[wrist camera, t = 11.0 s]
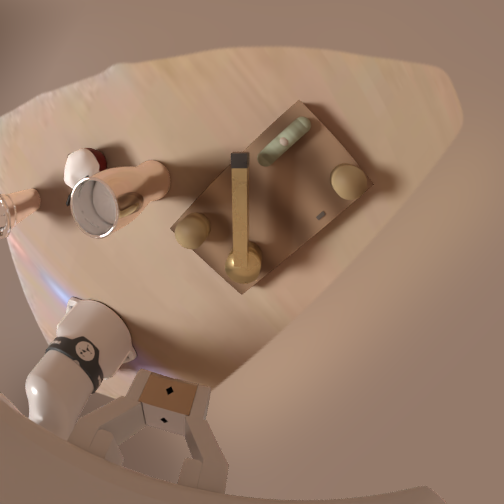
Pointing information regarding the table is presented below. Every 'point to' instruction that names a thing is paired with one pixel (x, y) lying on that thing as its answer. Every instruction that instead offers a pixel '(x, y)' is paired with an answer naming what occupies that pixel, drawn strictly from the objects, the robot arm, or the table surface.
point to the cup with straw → (16, 209)
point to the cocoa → (82, 166)
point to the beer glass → (117, 196)
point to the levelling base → (276, 194)
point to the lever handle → (242, 226)
